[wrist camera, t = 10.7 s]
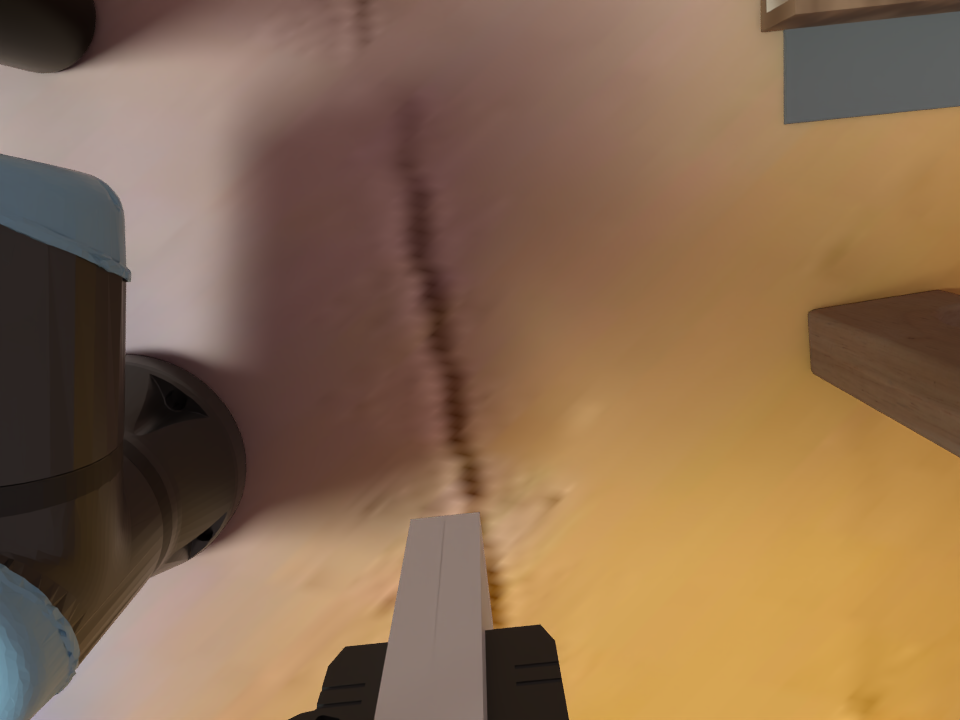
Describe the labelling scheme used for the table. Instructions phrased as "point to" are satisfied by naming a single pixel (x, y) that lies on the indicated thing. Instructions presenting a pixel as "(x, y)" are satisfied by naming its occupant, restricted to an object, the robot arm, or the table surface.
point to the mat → (872, 67)
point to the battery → (45, 33)
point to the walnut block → (844, 11)
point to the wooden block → (896, 359)
